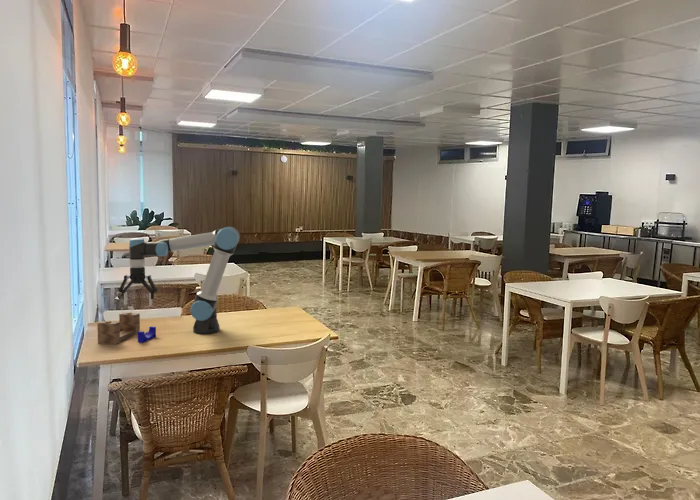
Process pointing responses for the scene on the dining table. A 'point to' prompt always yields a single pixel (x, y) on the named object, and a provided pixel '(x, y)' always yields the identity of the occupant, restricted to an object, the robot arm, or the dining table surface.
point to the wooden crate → (119, 328)
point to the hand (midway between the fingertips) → (138, 304)
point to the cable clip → (147, 335)
